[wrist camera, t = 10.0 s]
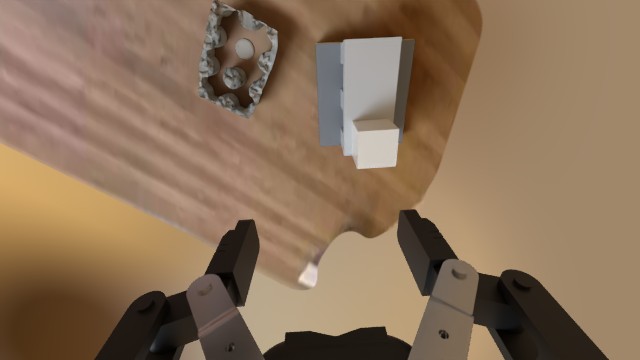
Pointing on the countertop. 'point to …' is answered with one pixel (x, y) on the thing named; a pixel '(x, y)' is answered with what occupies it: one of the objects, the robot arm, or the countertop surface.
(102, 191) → the countertop surface
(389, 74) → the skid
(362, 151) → the block
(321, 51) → the dock
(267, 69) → the egg carton
